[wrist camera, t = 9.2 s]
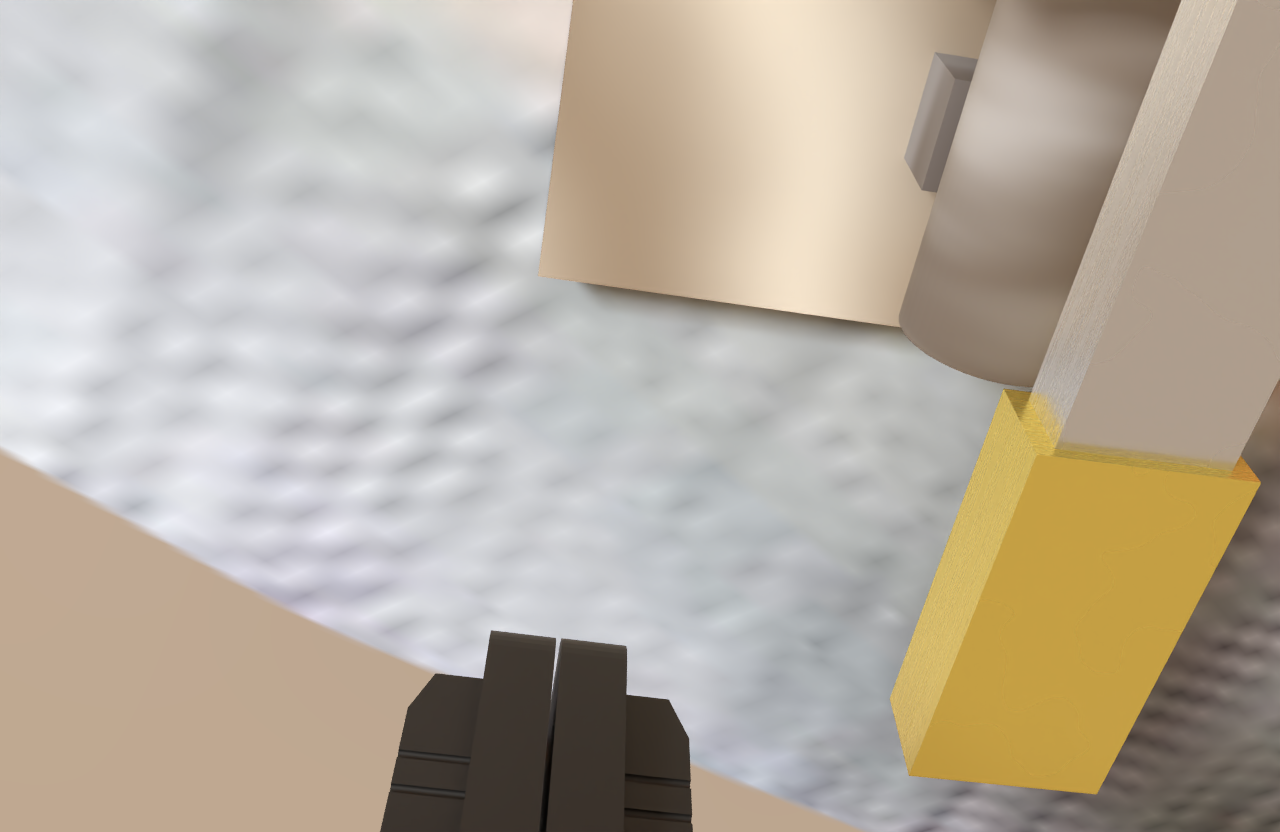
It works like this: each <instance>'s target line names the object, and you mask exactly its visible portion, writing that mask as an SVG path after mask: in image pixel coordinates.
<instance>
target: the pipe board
mask: <svg viewBox="0 0 1280 832" xmlns="http://www.w3.org/2000/svg"><path fill="white" fill-rule="evenodd" d="M1180 3H1181V0H573V6H572V14H571V22H570V30H569V38H568V46H567V53H566V61H565V69H564V77H563V85H562V93H561V101H560V108H559V116H558V124H557V132H556V140H555V148H554V156H553V163H552V171H551V179H550V187H549V195H548V203H547V210H546V218H545V226H544V234H543V242H542V250H541V258H540V265H539V273H538V276H540V277H548V278H555V279H562V280H569V281H576V282H583V283H590V284H597V285H604V286H611V287H618V288H626V289H633V290H640V291H647V292H654V293H661V294H668V295H675V296H682V297H689V298H696V299H704V300H711V301H718V302H725V303H732V304H739V305H746V306H753V307H760V308H767V309H774V310H781V311H789V312H796V313H803V314H810V315H817V316H824V317H831V318H838V319H845V320H852V321H859V322H867V323H874V324H881V325H888V326H895V327H901V329H902V331H903V332H904V334H905V335H906V336H907V338H908V339H909V340H910V341H911V342H912V343H913V344H914V345H916V346H917V347H918V348H919V349H920V350H922V351H923V352H925V353H926V354H928V355H929V356H931V357H932V358H934V359H936V360H937V361H939V362H941V363H943V364H945V365H947V366H949V367H951V368H954V369H956V370H958V371H961V372H963V373H966V374H969V375H972V376H974V377H978V378H981V379H985V380H988V381H992V382H997V383H1002V384H1007V385H1014V386H1024V387H1034V384H1035V382H1036V379H1037V376H1038V374H1039V371H1040V368H1041V366H1042V363H1043V361H1044V358H1045V355H1046V353H1047V350H1048V348H1049V345H1050V342H1051V340H1052V337H1053V335H1054V332H1055V329H1056V327H1057V324H1058V321H1059V319H1060V316H1061V314H1062V311H1063V308H1064V306H1065V303H1066V301H1067V298H1068V295H1069V293H1070V290H1071V288H1072V285H1073V282H1074V280H1075V277H1076V274H1077V272H1078V269H1079V267H1080V264H1081V261H1082V259H1083V256H1084V254H1085V251H1086V248H1087V246H1088V243H1089V241H1090V238H1091V235H1092V233H1093V230H1094V227H1095V225H1096V222H1097V220H1098V217H1099V214H1100V212H1101V209H1102V207H1103V204H1104V201H1105V199H1106V196H1107V193H1108V191H1109V188H1110V186H1111V183H1112V180H1113V178H1114V175H1115V173H1116V170H1117V167H1118V165H1119V162H1120V160H1121V157H1122V154H1123V152H1124V149H1125V146H1126V144H1127V141H1128V139H1129V136H1130V133H1131V131H1132V128H1133V126H1134V123H1135V120H1136V118H1137V115H1138V113H1139V110H1140V107H1141V105H1142V102H1143V99H1144V97H1145V94H1146V92H1147V89H1148V86H1149V84H1150V81H1151V79H1152V76H1153V73H1154V71H1155V68H1156V65H1157V63H1158V60H1159V58H1160V55H1161V52H1162V50H1163V47H1164V45H1165V42H1166V39H1167V37H1168V34H1169V32H1170V29H1171V26H1172V24H1173V21H1174V18H1175V16H1176V13H1177V11H1178V8H1179V5H1180ZM1278 381H1280V378H1279V380H1278Z"/></svg>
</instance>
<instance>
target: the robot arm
mask: <svg viewBox="0 0 1280 832" xmlns="http://www.w3.org/2000/svg"><path fill="white" fill-rule="evenodd" d="M555 647H556V638H551V637H543V636H534V635H525V634H517V633H508V632H500V631H491V634H490V639H489V646H488V652H487V658H486V665H485V671H484V678H483V679H480V678H471V677H463V676H454V675H445V674H435V675H434V676H433V677H432V679H431V680H430V681H429V682H428V684H427V685H426V686H425V687H424V689H423V690H422V691H421V692H420V694H419V695H418V696H417V697H416V699H415V700H414V701H413V702H412V703H411V705H410V706H409V707H408V710H407V715H406V719H405V724H404V728H403V733H402V737H401V742H400V746H399V752H398V757H397V759H396V764H395V768H394V773H393V777H392V782H391V788H390V792H389V796H388V800H387V804H386V809H385V813H384V818H383V822H382V826H381V831H380V832H693V828H692V824H691V817H692V804H691V789H690V781H691V779H690V752H689V738H688V736H687V734H686V732H685V730H684V728H683V726H682V724H681V722H680V720H679V719H678V717H677V715H676V713H675V711H674V709H673V707H672V705H671V703H670V701H669V700H667V699H658V698H650V697H641V696H632V695H626V686H627V648H626V646H622V645H613V644H605V643H596V642H588V641H579V640H571V639H561V642H560V647H559V653H558V659H557V666H556V672H555V678H554V684H553V690H552V681H553V670H554V659H555ZM551 692H552V697H551Z"/></svg>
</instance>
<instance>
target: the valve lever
mask: <svg viewBox="0 0 1280 832" xmlns="http://www.w3.org/2000/svg"><path fill="white" fill-rule="evenodd" d="M1279 378H1280V0H1181V3H1180V5H1179V8H1178V11H1177V13H1176V16H1175V18H1174V21H1173V24H1172V26H1171V29H1170V32H1169V34H1168V37H1167V39H1166V42H1165V45H1164V47H1163V50H1162V52H1161V55H1160V58H1159V60H1158V63H1157V65H1156V68H1155V71H1154V73H1153V76H1152V79H1151V81H1150V84H1149V86H1148V89H1147V92H1146V94H1145V97H1144V99H1143V102H1142V105H1141V107H1140V110H1139V113H1138V115H1137V118H1136V120H1135V123H1134V126H1133V128H1132V131H1131V133H1130V136H1129V139H1128V141H1127V144H1126V146H1125V149H1124V152H1123V154H1122V157H1121V160H1120V162H1119V165H1118V167H1117V170H1116V173H1115V175H1114V178H1113V180H1112V183H1111V186H1110V188H1109V191H1108V193H1107V196H1106V199H1105V201H1104V204H1103V207H1102V209H1101V212H1100V214H1099V217H1098V220H1097V222H1096V225H1095V227H1094V230H1093V233H1092V235H1091V238H1090V241H1089V243H1088V246H1087V248H1086V251H1085V254H1084V256H1083V259H1082V261H1081V264H1080V267H1079V269H1078V272H1077V274H1076V277H1075V280H1074V282H1073V285H1072V288H1071V290H1070V293H1069V295H1068V298H1067V301H1066V303H1065V306H1064V308H1063V311H1062V314H1061V316H1060V319H1059V321H1058V324H1057V327H1056V329H1055V332H1054V335H1053V337H1052V340H1051V342H1050V345H1049V348H1048V350H1047V353H1046V355H1045V358H1044V361H1043V363H1042V366H1041V368H1040V371H1039V374H1038V376H1037V379H1036V382H1035V384H1034V387H1033V389H1032V392H1024V391H1017V390H1009V389H1003V392H1002V395H1001V398H1000V400H999V403H998V406H997V408H996V411H995V414H994V417H993V419H992V422H991V425H990V427H989V430H988V433H987V436H986V438H985V441H984V444H983V447H982V449H981V452H980V455H979V457H978V460H977V463H976V466H975V468H974V471H973V474H972V476H971V479H970V482H969V485H968V487H967V490H966V493H965V495H964V498H963V501H962V504H961V506H960V509H959V512H958V514H957V517H956V520H955V523H954V525H953V528H952V531H951V534H950V536H949V539H948V542H947V544H946V547H945V550H944V553H943V555H942V558H941V561H940V563H939V566H938V569H937V572H936V574H935V577H934V580H933V582H932V585H931V588H930V591H929V593H928V596H927V599H926V602H925V604H924V607H923V610H922V612H921V615H920V618H919V621H918V623H917V626H916V629H915V631H914V634H913V637H912V640H911V642H910V645H909V648H908V650H907V653H906V656H905V659H904V661H903V664H902V667H901V669H900V672H899V675H898V678H897V680H896V683H895V686H894V689H893V691H892V694H891V697H890V701H891V705H892V709H893V713H894V717H895V721H896V725H897V729H898V733H899V737H900V742H901V746H902V750H903V754H904V758H905V762H906V766H907V770H908V774H909V776H918V777H928V778H938V779H948V780H958V781H968V782H978V783H988V784H998V785H1008V786H1018V787H1028V788H1038V789H1048V790H1058V791H1068V792H1078V793H1088V794H1097V793H1098V791H1099V789H1100V787H1101V785H1102V783H1103V781H1104V780H1105V778H1106V776H1107V774H1108V772H1109V770H1110V768H1111V766H1112V764H1113V762H1114V761H1115V759H1116V757H1117V755H1118V753H1119V751H1120V749H1121V747H1122V745H1123V744H1124V742H1125V740H1126V738H1127V736H1128V734H1129V732H1130V730H1131V728H1132V726H1133V725H1134V723H1135V721H1136V719H1137V717H1138V715H1139V713H1140V711H1141V709H1142V708H1143V706H1144V704H1145V702H1146V700H1147V698H1148V696H1149V694H1150V692H1151V690H1152V689H1153V687H1154V685H1155V683H1156V681H1157V679H1158V677H1159V675H1160V673H1161V672H1162V670H1163V668H1164V666H1165V664H1166V662H1167V660H1168V658H1169V656H1170V654H1171V653H1172V651H1173V649H1174V647H1175V645H1176V643H1177V641H1178V639H1179V637H1180V635H1181V634H1182V632H1183V630H1184V628H1185V626H1186V624H1187V622H1188V620H1189V618H1190V617H1191V615H1192V613H1193V611H1194V609H1195V607H1196V605H1197V603H1198V601H1199V599H1200V598H1201V596H1202V594H1203V592H1204V590H1205V588H1206V586H1207V584H1208V582H1209V581H1210V579H1211V577H1212V575H1213V573H1214V571H1215V569H1216V567H1217V565H1218V563H1219V562H1220V560H1221V558H1222V556H1223V554H1224V552H1225V550H1226V548H1227V546H1228V545H1229V543H1230V541H1231V539H1232V537H1233V535H1234V533H1235V531H1236V529H1237V527H1238V526H1239V524H1240V522H1241V520H1242V518H1243V516H1244V514H1245V512H1246V510H1247V509H1248V507H1249V505H1250V503H1251V501H1252V499H1253V497H1254V495H1255V493H1256V491H1257V490H1258V488H1259V486H1260V484H1261V482H1260V480H1259V479H1258V478H1257V476H1256V475H1255V474H1254V473H1253V471H1252V470H1251V469H1250V467H1249V466H1248V465H1247V463H1246V462H1245V461H1244V459H1243V458H1242V457H1241V453H1242V451H1243V449H1244V447H1245V445H1246V443H1247V441H1248V439H1249V437H1250V435H1251V434H1252V432H1253V430H1254V428H1255V426H1256V424H1257V422H1258V420H1259V418H1260V416H1261V414H1262V412H1263V410H1264V408H1265V406H1266V404H1267V402H1268V400H1269V398H1270V396H1271V394H1272V392H1273V390H1274V388H1275V386H1276V384H1277V382H1278V380H1279Z"/></svg>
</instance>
